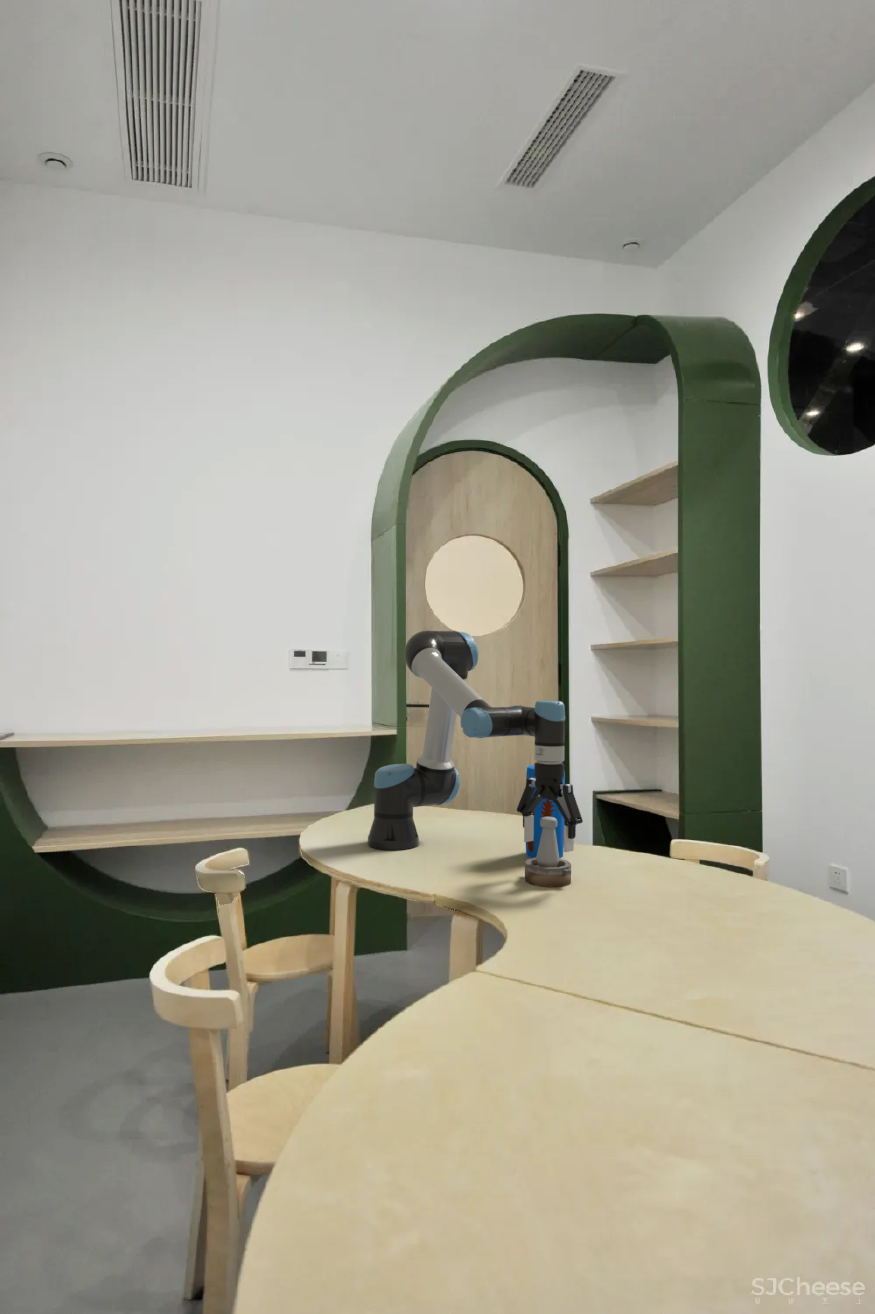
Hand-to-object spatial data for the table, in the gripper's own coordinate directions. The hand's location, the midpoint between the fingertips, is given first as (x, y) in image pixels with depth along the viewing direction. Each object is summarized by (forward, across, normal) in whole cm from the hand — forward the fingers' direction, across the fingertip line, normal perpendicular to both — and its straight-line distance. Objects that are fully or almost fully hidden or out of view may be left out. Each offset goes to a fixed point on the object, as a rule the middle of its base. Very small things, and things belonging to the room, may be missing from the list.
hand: (548, 846), depth 208 cm
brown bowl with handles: (+9, 0, 0) cm, 9 cm away
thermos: (+9, -19, +19) cm, 28 cm away
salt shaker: (+6, 0, 0) cm, 6 cm away
